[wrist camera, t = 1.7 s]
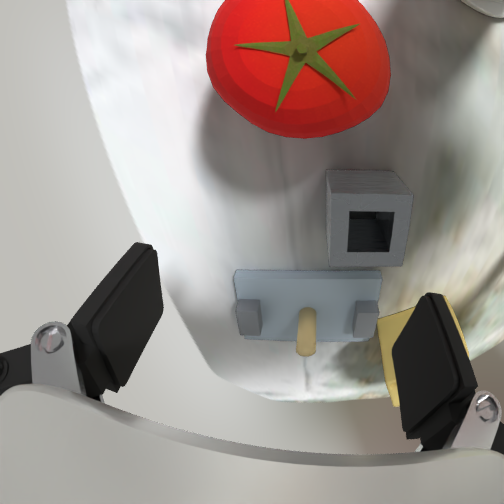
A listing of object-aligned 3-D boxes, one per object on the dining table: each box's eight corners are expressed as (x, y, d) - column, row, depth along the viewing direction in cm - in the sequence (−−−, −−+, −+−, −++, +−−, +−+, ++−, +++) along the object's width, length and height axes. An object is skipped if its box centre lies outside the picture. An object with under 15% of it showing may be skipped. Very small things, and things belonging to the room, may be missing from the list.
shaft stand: (380, 270, 30) (392, 315, 24) (367, 332, 35) (372, 376, 30) (236, 269, 33) (221, 313, 28) (246, 330, 39) (236, 372, 33)
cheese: (386, 361, 38) (393, 420, 30) (372, 315, 34) (382, 383, 26) (450, 340, 34) (467, 396, 26) (448, 289, 30) (474, 351, 22)
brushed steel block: (393, 171, 24) (413, 195, 19) (387, 231, 28) (402, 266, 23) (326, 169, 25) (331, 193, 20) (326, 231, 29) (329, 266, 24)
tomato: (208, 54, 21) (130, 40, 11) (306, -15, 16) (304, -85, 6) (288, 147, 25) (273, 204, 14) (387, 85, 20) (455, 93, 9)
